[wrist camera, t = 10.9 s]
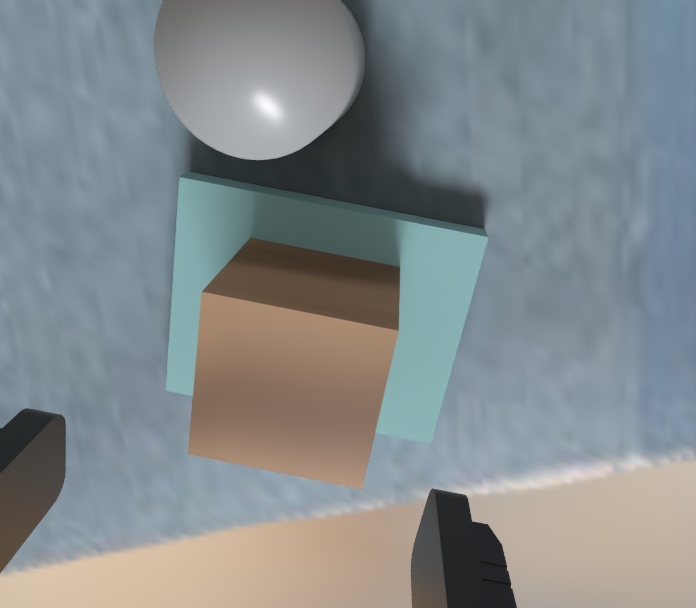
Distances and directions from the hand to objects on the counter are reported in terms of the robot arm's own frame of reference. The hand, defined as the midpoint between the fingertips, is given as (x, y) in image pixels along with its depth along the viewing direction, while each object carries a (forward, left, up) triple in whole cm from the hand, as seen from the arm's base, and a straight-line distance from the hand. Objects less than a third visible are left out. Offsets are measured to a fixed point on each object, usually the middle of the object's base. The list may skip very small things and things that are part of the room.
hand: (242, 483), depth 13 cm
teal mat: (0, 0, -9) cm, 9 cm away
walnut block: (0, 0, -8) cm, 8 cm away
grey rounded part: (-2, +8, -9) cm, 13 cm away
